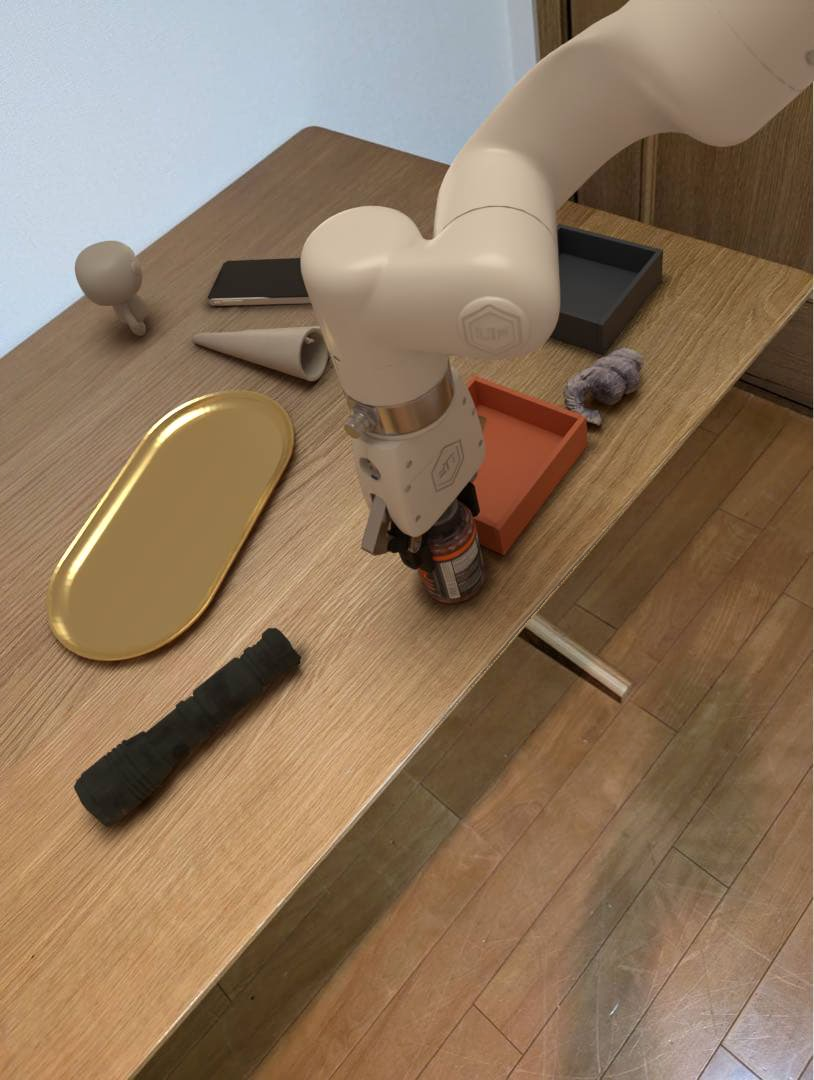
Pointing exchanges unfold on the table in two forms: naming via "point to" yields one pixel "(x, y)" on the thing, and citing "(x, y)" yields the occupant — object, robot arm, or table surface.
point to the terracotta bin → (519, 458)
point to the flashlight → (181, 730)
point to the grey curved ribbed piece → (604, 382)
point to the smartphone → (259, 283)
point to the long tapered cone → (274, 349)
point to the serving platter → (169, 526)
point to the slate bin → (601, 285)
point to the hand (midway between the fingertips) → (441, 535)
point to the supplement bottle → (454, 556)
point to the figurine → (113, 281)
